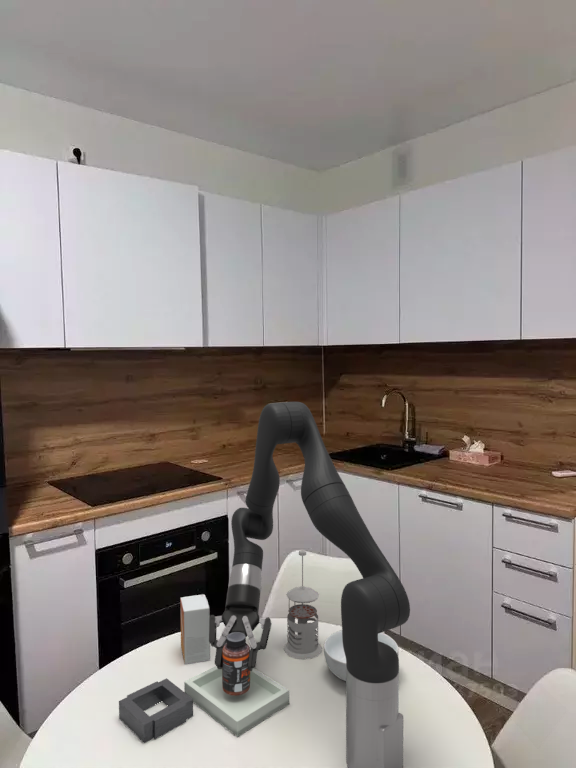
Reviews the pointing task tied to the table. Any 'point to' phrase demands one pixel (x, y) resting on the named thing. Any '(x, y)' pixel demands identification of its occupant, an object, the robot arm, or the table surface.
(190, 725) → the table surface
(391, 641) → the cereal bowl
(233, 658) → the supplement bottle
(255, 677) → the tray
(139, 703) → the collar
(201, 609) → the small box
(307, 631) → the french press
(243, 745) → the table surface
